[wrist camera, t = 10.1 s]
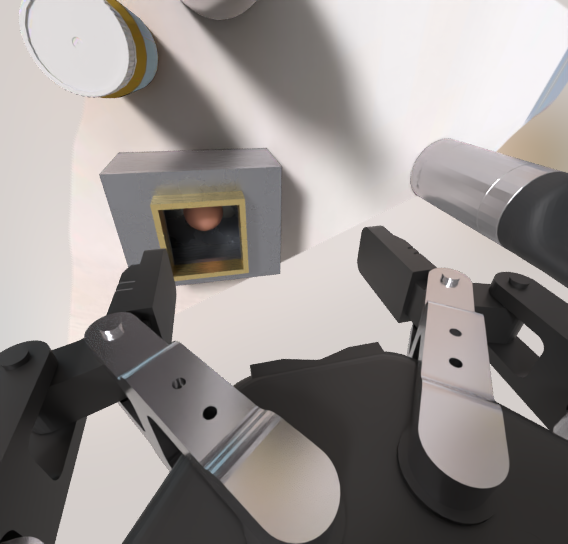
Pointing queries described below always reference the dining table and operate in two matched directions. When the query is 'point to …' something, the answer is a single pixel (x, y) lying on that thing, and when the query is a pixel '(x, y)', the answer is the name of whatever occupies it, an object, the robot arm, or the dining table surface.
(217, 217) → the ball
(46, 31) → the bottle
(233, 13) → the dark green wine bottle
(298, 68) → the dining table surface
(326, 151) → the dining table surface
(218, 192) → the grey box with opening
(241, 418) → the robot arm
